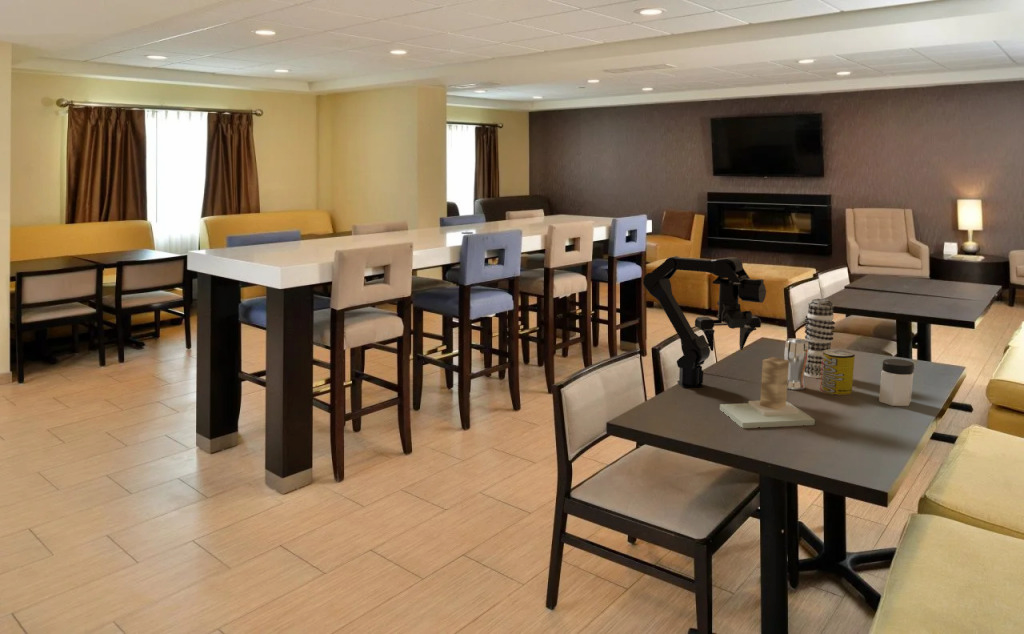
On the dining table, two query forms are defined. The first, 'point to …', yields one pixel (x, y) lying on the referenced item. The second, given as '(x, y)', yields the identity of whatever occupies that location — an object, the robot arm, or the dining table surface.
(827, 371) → the beverage can
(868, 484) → the dining table surface
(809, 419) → the board
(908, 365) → the jar
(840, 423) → the dining table surface
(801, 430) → the dining table surface
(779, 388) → the pillar block
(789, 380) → the beer glass
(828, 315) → the decorative candle
